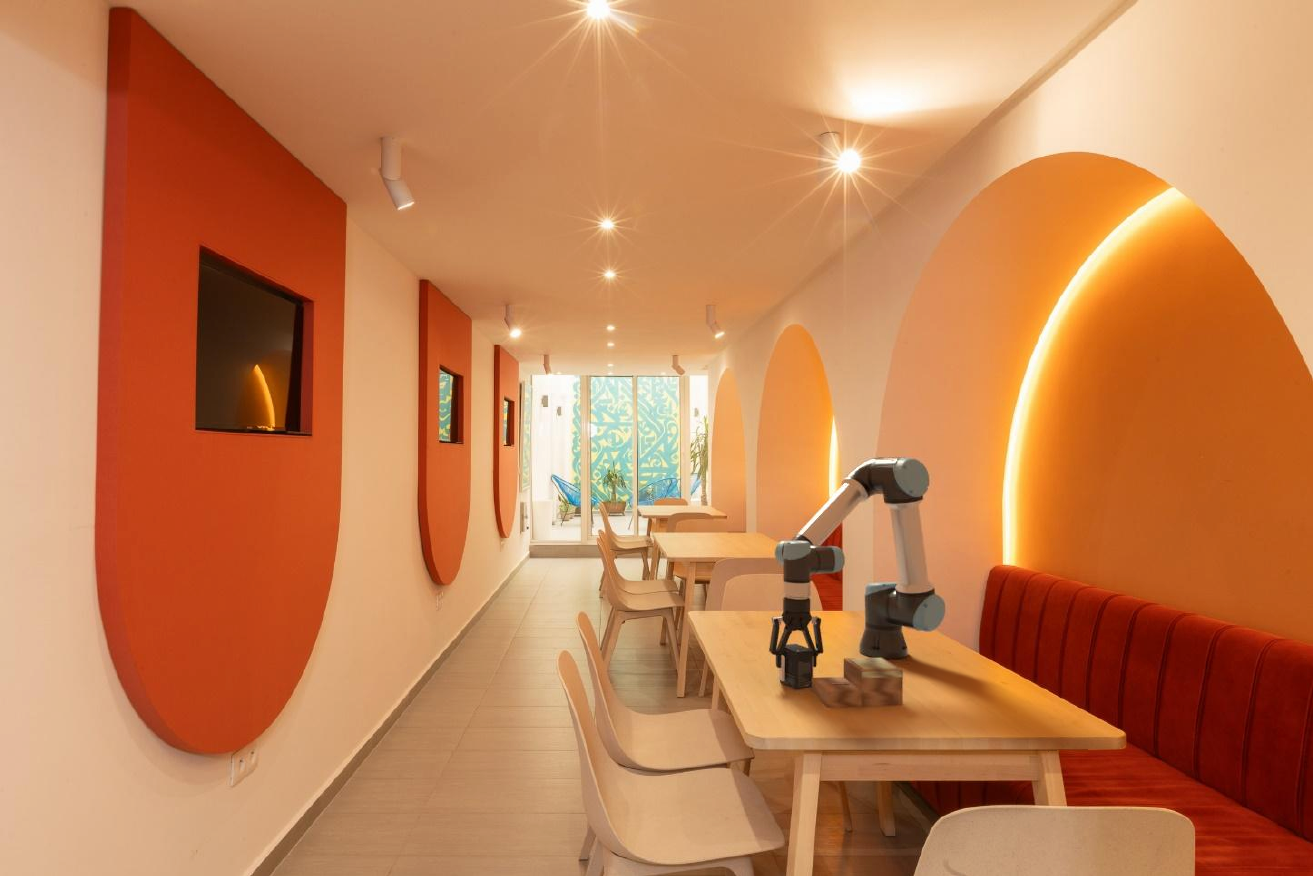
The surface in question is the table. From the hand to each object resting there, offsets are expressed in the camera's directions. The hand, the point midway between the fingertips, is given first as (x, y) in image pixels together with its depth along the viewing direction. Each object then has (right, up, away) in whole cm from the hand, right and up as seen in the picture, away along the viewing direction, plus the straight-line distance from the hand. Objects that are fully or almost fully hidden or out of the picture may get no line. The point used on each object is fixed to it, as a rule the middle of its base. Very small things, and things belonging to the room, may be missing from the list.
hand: (796, 679), depth 204 cm
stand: (+14, -1, -11) cm, 18 cm away
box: (0, -2, 0) cm, 2 cm away
